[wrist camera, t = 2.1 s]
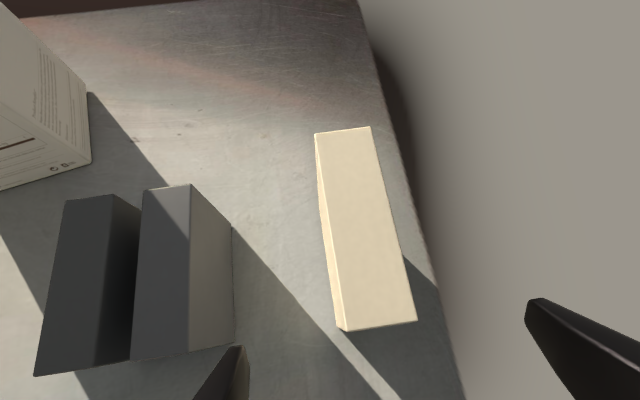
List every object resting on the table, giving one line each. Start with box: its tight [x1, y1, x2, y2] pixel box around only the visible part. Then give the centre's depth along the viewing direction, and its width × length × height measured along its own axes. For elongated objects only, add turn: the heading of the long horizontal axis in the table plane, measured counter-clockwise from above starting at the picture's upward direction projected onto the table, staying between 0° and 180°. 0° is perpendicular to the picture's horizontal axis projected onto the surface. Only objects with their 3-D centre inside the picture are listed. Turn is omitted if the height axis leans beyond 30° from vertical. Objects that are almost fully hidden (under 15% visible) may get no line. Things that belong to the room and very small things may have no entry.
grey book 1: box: [130, 184, 235, 362], centre depth 17 cm, size 8×2×7 cm, turn 8°
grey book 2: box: [33, 194, 142, 377], centre depth 17 cm, size 8×2×7 cm, turn 8°
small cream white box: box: [314, 127, 418, 332], centre depth 16 cm, size 8×2×10 cm, turn 8°
